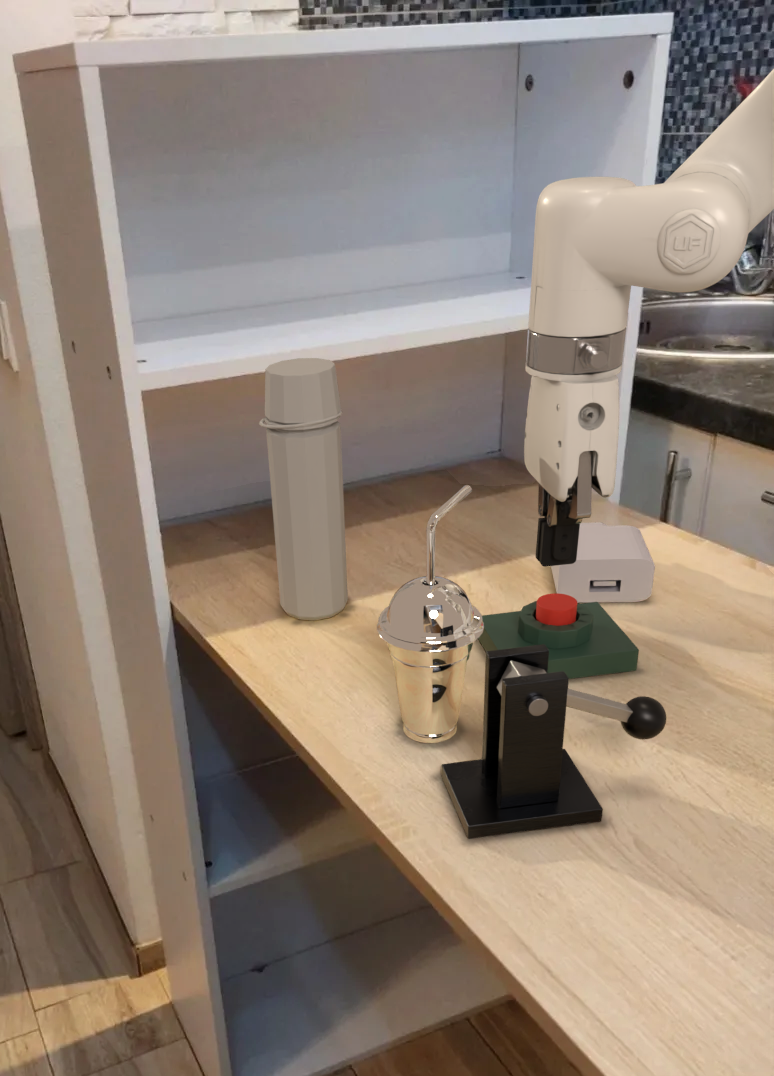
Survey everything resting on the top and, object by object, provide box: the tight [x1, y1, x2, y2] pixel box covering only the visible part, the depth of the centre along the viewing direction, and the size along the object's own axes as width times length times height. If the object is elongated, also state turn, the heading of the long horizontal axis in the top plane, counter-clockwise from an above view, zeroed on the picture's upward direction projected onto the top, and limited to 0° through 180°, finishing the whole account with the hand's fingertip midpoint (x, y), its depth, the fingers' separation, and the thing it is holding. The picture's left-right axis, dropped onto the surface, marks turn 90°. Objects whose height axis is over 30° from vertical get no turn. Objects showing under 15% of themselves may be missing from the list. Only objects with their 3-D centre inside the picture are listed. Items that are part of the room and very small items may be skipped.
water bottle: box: [258, 357, 349, 621], centre depth 103 cm, size 9×8×25 cm
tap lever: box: [497, 660, 667, 741], centre depth 74 cm, size 13×3×3 cm, turn 96°
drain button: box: [536, 592, 577, 626], centre depth 94 cm, size 4×4×2 cm
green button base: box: [477, 600, 640, 680], centre depth 96 cm, size 12×10×4 cm
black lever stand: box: [440, 644, 604, 840], centre depth 75 cm, size 10×8×12 cm
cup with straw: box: [376, 484, 484, 744], centre depth 82 cm, size 8×9×20 cm
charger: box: [550, 521, 656, 604], centre depth 110 cm, size 5×9×15 cm
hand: (555, 561), depth 92 cm, fingers closed
